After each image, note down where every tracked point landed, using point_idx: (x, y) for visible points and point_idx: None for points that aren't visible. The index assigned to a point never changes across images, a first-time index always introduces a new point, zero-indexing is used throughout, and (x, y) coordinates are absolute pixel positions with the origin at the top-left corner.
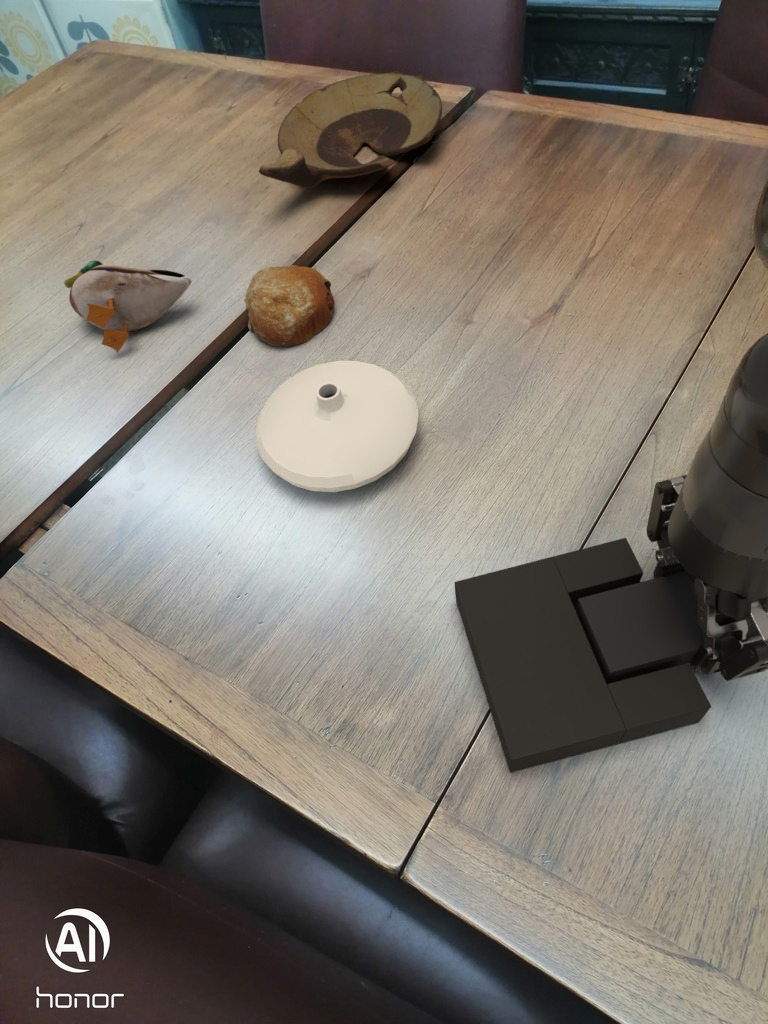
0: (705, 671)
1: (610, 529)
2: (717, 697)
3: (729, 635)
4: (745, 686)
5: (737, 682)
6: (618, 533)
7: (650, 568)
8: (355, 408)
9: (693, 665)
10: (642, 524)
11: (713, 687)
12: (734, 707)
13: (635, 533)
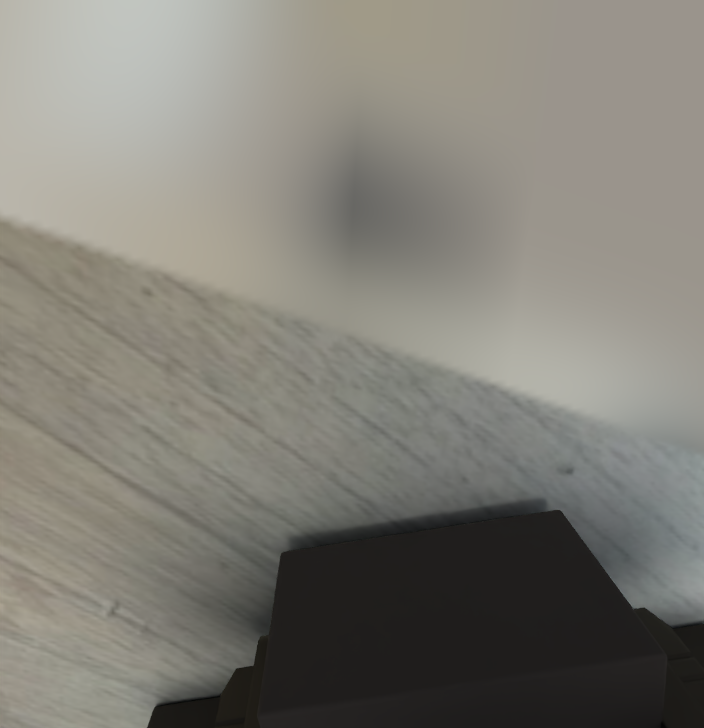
0: None
1: (33, 707)
2: (656, 561)
3: (639, 714)
4: (650, 481)
5: (631, 499)
6: (48, 690)
7: (191, 633)
8: None
9: None
10: (3, 623)
11: (624, 563)
12: (699, 527)
13: (45, 648)
